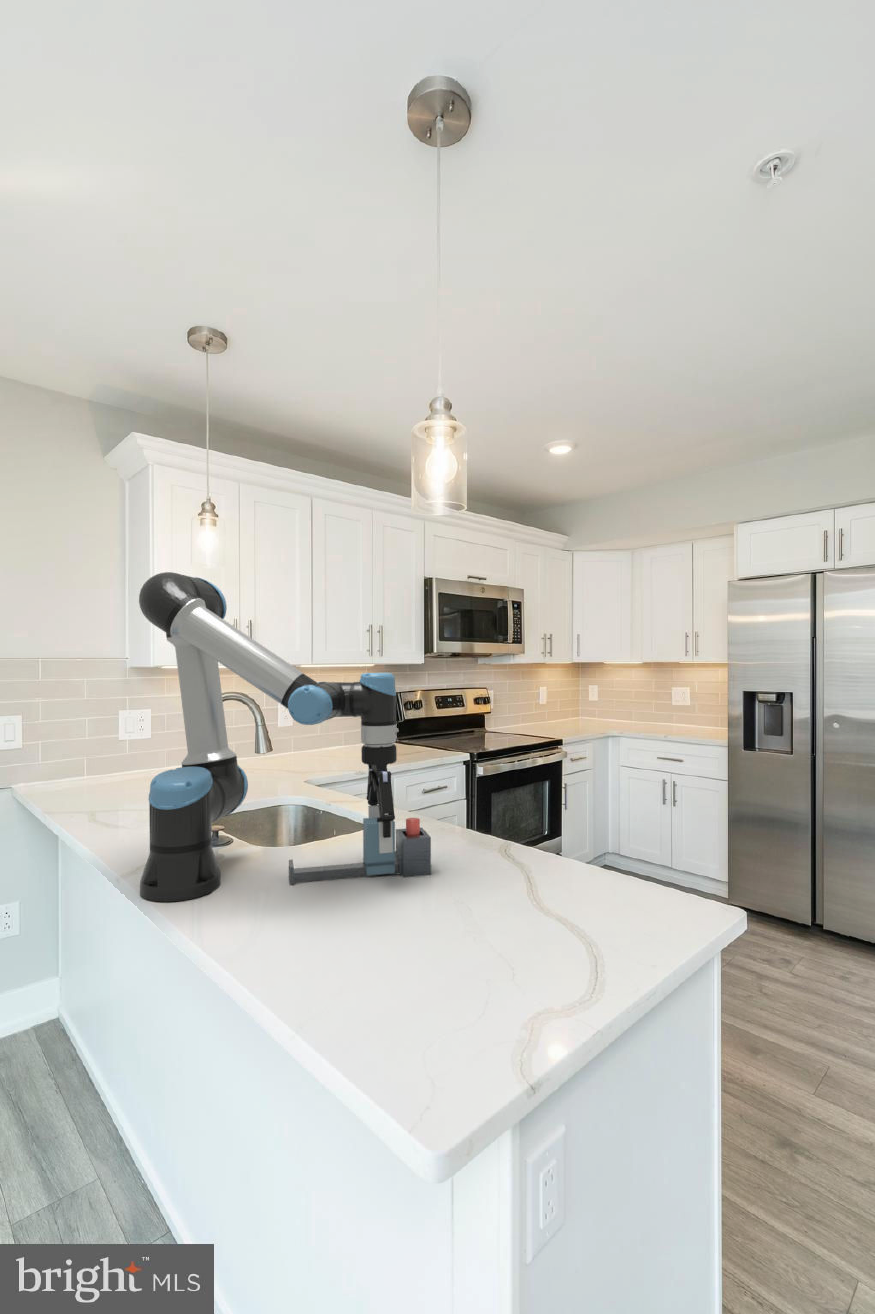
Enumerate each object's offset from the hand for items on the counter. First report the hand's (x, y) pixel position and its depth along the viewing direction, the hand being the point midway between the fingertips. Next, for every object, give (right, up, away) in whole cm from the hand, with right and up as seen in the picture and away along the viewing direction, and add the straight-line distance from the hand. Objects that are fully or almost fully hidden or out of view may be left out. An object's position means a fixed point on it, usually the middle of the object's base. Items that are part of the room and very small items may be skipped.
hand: (380, 843), depth 138 cm
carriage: (0, -6, 0) cm, 6 cm away
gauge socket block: (+7, -6, +2) cm, 10 cm away
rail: (-7, -6, -2) cm, 10 cm away
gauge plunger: (+7, -1, +2) cm, 7 cm away
